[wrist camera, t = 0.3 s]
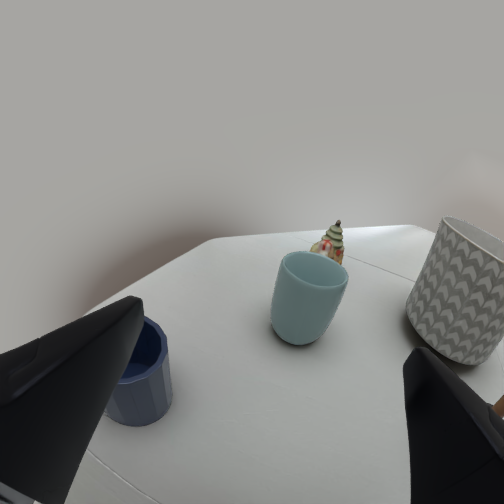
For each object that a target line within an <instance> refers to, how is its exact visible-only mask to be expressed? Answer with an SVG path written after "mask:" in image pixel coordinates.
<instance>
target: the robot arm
mask: <svg viewBox="0 0 504 504" xmlns="http://www.w3.org/2000/svg"><path fill="white" fill-rule="evenodd" d="M143 325H144V310H143V301H142V299H141V298H138V297H134V296H127V297H125V298H123V299H121V300H119V301H116V302H114V303H112V304H110V305H108V306H106V307H103V308H101V309H99V310H97V311H95V312H93V313H90V314H88V315H86V316H84V317H82V318H80V319H78V320H76V321H74V322H71V323H69V324H67V325H65V326H63V327H61V328H58V329H56V330H54V331H52V332H50V333H48V334H46V335H44V336H42V337H41V338H37V339H35V340H33V341H31V342H29V343H27V344H24V345H22V346H20V347H18V348H16V349H13V350H10V351H8V352H5V353H3V354H0V504H33V503H34V501H35V500H36V501H38V502H40V503H42V504H64V502H65V500H66V497H67V495H68V492H69V489H70V487H71V484H72V482H73V479H74V477H75V475H76V472H77V470H78V467H79V464H80V462H81V460H82V458H83V455H84V453H85V451H86V449H87V446H88V444H89V442H90V440H91V438H92V435H93V433H94V431H95V429H96V427H97V425H98V423H99V421H100V418H101V416H102V414H103V412H104V410H105V408H106V406H107V404H108V402H109V400H110V398H111V396H112V394H113V392H114V390H115V388H116V386H117V384H118V382H119V380H120V378H121V376H122V374H123V373H124V371H125V369H126V367H127V365H128V362H129V360H130V358H131V355H132V352H133V350H134V347H135V345H136V342H137V340H138V337H139V335H140V332H141V330H142V327H143ZM403 378H404V396H405V411H406V419H407V428H408V439H409V452H410V473H411V504H504V420H503V419H502V418H501V417H500V416H499V415H498V414H497V413H496V412H495V411H494V410H493V409H492V408H491V407H490V406H488V404H487V403H486V402H485V401H484V400H483V399H481V398H480V397H479V396H478V395H477V394H476V393H475V392H474V391H473V390H472V389H471V388H470V387H469V386H468V385H467V384H466V383H465V382H464V381H463V380H462V379H460V378H459V377H458V376H457V375H456V374H455V373H454V372H453V371H452V370H451V369H450V368H449V367H448V366H446V365H445V364H444V363H443V362H442V361H441V360H440V359H439V358H438V357H437V356H435V355H434V354H433V353H432V352H431V351H430V350H429V349H428V348H426V347H416V348H414V349H413V351H412V352H411V354H410V355H409V357H408V358H407V360H406V361H405V363H404V365H403Z"/></svg>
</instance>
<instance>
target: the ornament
mask: <svg viewBox="0 0 504 504" xmlns="http://www.w3.org/2000/svg"><path fill="white" fill-rule="evenodd" d="M340 224H341V222H340V220H338V221H337V222H336V224H335V225H333V226H331V227H330V229H329V230H327V231H326V235H323V236H322V240H321V241H320V242H317V243H315V244H314V245H313V246H312V247H311V250H310V251H309V252H314V253H318V254H322V255H324V256H327V257H329V258H331V259H333V260H334V261H336V262H337V263H339V264H340V265H341V264H342V259H343V252H344V246H343V241H342V239H343V235H342V232H343V231H342V229H341V227H340Z"/></svg>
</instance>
